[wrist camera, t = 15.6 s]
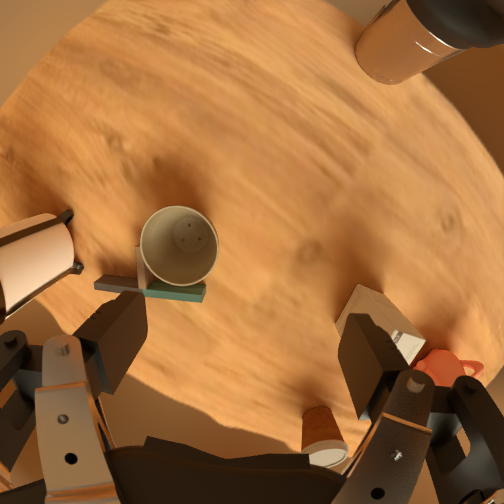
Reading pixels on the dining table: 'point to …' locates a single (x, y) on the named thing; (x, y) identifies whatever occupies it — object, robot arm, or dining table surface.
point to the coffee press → (34, 259)
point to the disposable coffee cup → (322, 438)
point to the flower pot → (179, 245)
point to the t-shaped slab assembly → (150, 284)
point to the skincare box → (383, 319)
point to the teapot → (446, 367)
